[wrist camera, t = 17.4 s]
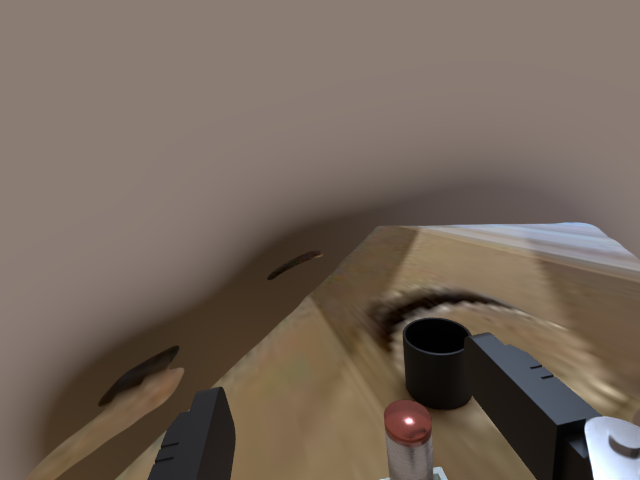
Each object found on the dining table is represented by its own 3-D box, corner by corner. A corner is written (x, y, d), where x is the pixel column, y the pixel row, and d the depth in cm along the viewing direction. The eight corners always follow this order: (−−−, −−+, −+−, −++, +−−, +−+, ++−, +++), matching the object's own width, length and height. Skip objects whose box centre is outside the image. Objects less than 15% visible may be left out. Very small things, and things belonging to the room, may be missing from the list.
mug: (473, 361, 53) (473, 312, 50) (471, 418, 43) (471, 360, 40) (414, 352, 57) (411, 306, 55) (400, 401, 47) (396, 348, 44)
